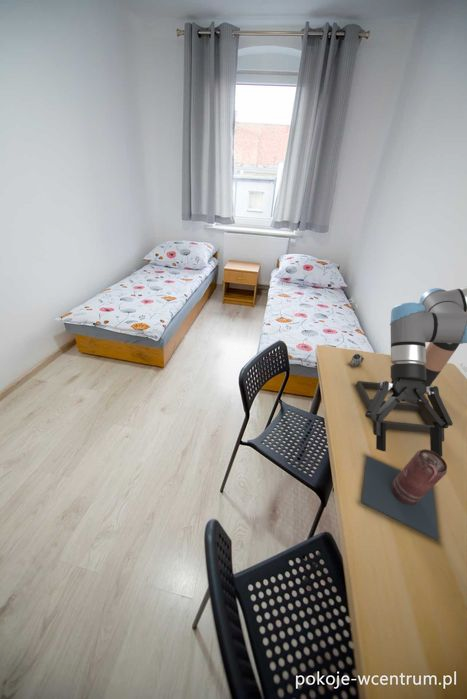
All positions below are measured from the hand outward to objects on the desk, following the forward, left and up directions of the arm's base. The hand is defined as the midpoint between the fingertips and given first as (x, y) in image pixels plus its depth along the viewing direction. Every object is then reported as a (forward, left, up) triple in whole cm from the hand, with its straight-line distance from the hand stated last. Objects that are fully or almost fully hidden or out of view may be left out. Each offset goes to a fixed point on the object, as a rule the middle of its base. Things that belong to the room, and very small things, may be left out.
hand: (408, 453), depth 66 cm
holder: (0, -28, -10) cm, 29 cm away
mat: (-2, +4, -10) cm, 11 cm away
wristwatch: (+14, -46, -10) cm, 49 cm away
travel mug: (-9, -49, -10) cm, 51 cm away
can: (-3, +4, -10) cm, 11 cm away
